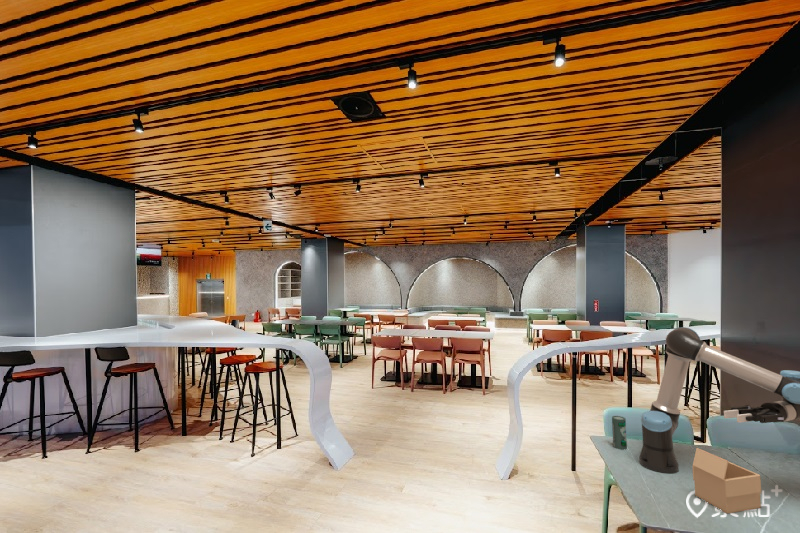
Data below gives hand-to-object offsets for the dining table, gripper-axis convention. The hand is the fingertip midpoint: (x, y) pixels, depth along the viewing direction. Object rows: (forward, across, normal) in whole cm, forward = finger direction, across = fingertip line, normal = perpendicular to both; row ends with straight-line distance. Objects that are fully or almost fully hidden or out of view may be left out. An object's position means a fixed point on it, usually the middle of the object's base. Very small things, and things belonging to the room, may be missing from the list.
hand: (731, 416), depth 149 cm
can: (+6, +52, -32) cm, 62 cm away
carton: (+5, 0, -32) cm, 32 cm away
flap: (+11, 0, -17) cm, 20 cm away
